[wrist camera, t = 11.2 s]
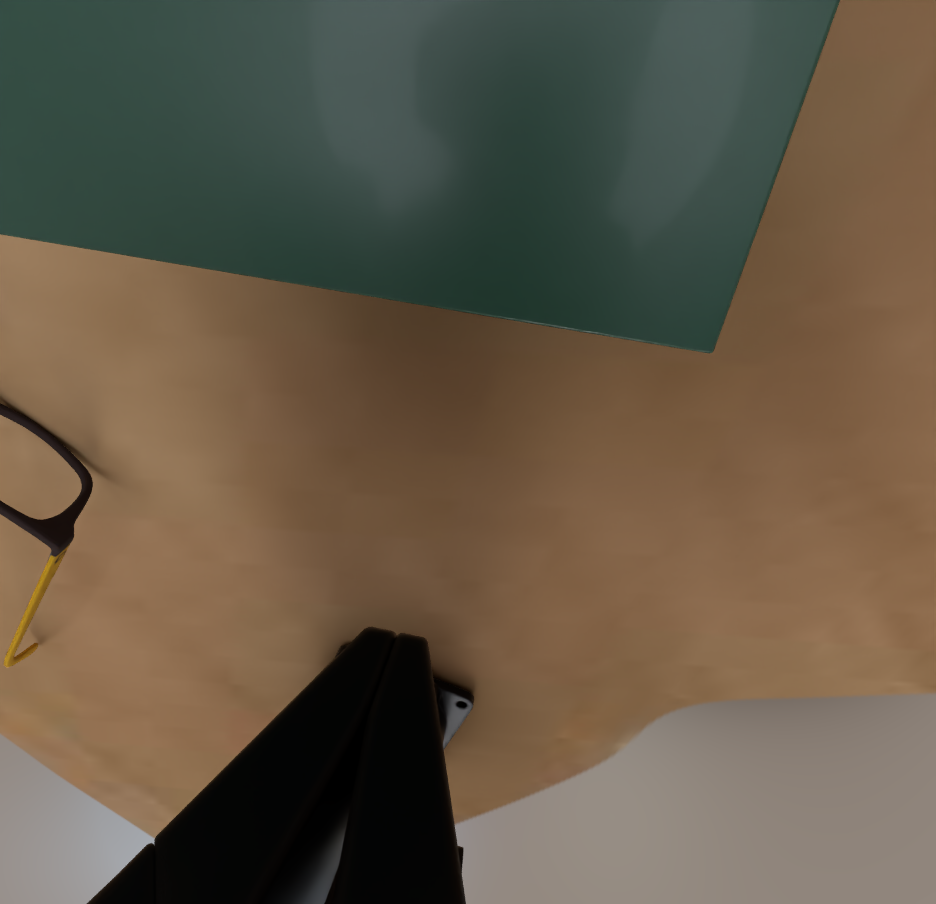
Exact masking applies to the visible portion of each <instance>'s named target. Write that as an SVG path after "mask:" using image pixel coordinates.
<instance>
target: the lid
mask: <svg viewBox="0 0 936 904" xmlns="http://www.w3.org/2000/svg"><path fill="white" fill-rule="evenodd" d="M839 2H840V0H0V234H2V235H8V236H14V237H20V238H26V239H31V240H37V241H43V242H49V243H55V244H61V245H67V246H73V247H79V248H85V249H91V250H97V251H103V252H109V253H115V254H121V255H127V256H133V257H139V258H145V259H151V260H156V261H162V262H168V263H174V264H180V265H186V266H192V267H198V268H204V269H210V270H216V271H222V272H228V273H234V274H240V275H246V276H252V277H258V278H264V279H270V280H276V281H281V282H287V283H293V284H299V285H305V286H311V287H317V288H323V289H329V290H335V291H341V292H347V293H353V294H359V295H365V296H371V297H377V298H383V299H389V300H395V301H401V302H406V303H412V304H418V305H424V306H430V307H436V308H442V309H448V310H454V311H460V312H466V313H472V314H478V315H484V316H490V317H496V318H502V319H508V320H514V321H520V322H526V323H532V324H537V325H543V326H549V327H555V328H561V329H567V330H573V331H579V332H585V333H591V334H597V335H603V336H609V337H615V338H621V339H627V340H633V341H639V342H645V343H651V344H657V345H662V346H668V347H674V348H680V349H686V350H692V351H698V352H704V353H712V352H713V351H714V349H715V346H716V343H717V340H718V337H719V335H720V332H721V329H722V326H723V324H724V321H725V318H726V315H727V312H728V310H729V307H730V304H731V301H732V299H733V296H734V293H735V290H736V288H737V285H738V282H739V279H740V276H741V274H742V271H743V268H744V265H745V263H746V260H747V257H748V254H749V251H750V249H751V246H752V243H753V240H754V238H755V235H756V232H757V229H758V226H759V224H760V221H761V218H762V215H763V213H764V210H765V207H766V204H767V202H768V199H769V196H770V193H771V190H772V188H773V185H774V182H775V179H776V177H777V174H778V171H779V168H780V165H781V163H782V160H783V157H784V154H785V152H786V149H787V146H788V143H789V140H790V138H791V135H792V132H793V129H794V127H795V124H796V121H797V118H798V116H799V113H800V110H801V107H802V104H803V102H804V99H805V96H806V93H807V91H808V88H809V85H810V82H811V79H812V77H813V74H814V71H815V68H816V66H817V63H818V60H819V57H820V54H821V52H822V49H823V46H824V43H825V41H826V38H827V35H828V32H829V30H830V27H831V24H832V21H833V18H834V16H835V13H836V10H837V7H838V5H839Z"/></svg>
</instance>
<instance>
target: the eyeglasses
mask: <svg viewBox="0 0 936 904" xmlns="http://www.w3.org/2000/svg"><path fill="white" fill-rule="evenodd" d="M0 415H2V416H4V417H6V418H8V419H10V420H12V421H14V422H16V423H18V424H20V425H22V426H23V427H25V428H26V429H28V430H30V431H31V432H33V433H34V434H36V435H37V436H38V437H40V438H41V439H42V440H44V441H45V442H46V443H47V444H49V445H50V446H51V447H52V448H53V449H54V450H56V451H57V452H58V453H59V454H60V455H61V456H62V457H63V458H64V459H65V460H66V461H67V462H68V464H69V465H70V466H71V467H72V468H73V469H74V470H75V472H76V473H77V474H78V476H79V477H80V480H81V484H82V489H81V493H80V495H79V496H78V498H77V499H76V500H75V501H74V502H73V503H72V505H70V506H69V507H68V508H67V509H66V510H65V511H63V512H62V513H61V514H59V515H57V516H55V517H52V518H48V519H44V520H37V519H34V518H30V517H28V516H26V515H24V514H22V513H20V512H18V511H17V510H15V509H13V508H12V507H10V506H8V505H7V504H5V503H3V502H2V501H0V514H1V515H3V516H4V517H6V518H7V519H9V520H10V521H12V522H13V523H15V524H16V525H18V526H20V527H21V528H23V529H24V530H26V531H27V532H29V533H30V534H32V535H33V536H35V537H36V538H38V539H39V540H41V541H42V542H43V543H45V544H46V545H48V546H49V547H50V548H51V550H52V551H51V554H50V556H49V559H48V562H47V564H46V567H45V569H44V571H43V573H42V575H41V577H40V579H39V582H38V584H37V586H36V588H35V590H34V593H33V595H32V597H31V600H30V602H29V604H28V606H27V609H26V611H25V613H24V616H23V618H22V620H21V623H20V625H19V627H18V629H17V632H16V634H15V636H14V638H13V641H12V643H11V645H10V647H9V650H8V652H7V654H6V657H5V660H4V666H6V667H10V666H13V665H14V664H16V663H18V662H20V661H21V660H23V659H25V658H26V657H28V656H29V655H31V654H32V653H33V652H34V651H35V650H36V649H37V647H38V644H37V643H34V644H33V645H31V646H30V647H28V648H27V649H26V650H24V651H23V652H21V653H20V654H19V655H17V656H16V657H14V654H15V652H16V650H17V648H18V646H19V644H20V642H21V640H22V638H23V636H24V634H25V632H26V630H27V628H28V626H29V624H30V622H31V620H32V618H33V616H34V614H35V612H36V610H37V607H38V605H39V603H40V601H41V599H42V597H43V595H44V593H45V591H46V589H47V587H48V585H49V583H50V581H51V579H52V578H53V576H54V574H55V572H56V570H57V568H58V567H59V565H60V563H61V561H62V559H63V557H64V555H65V553H66V551H67V549H68V547H69V545H70V543H71V542H72V540H73V538H74V523H75V521H76V519H77V518H78V516H79V514H80V513H81V511H82V510H83V508H84V506H85V505H86V503H87V501H88V499H89V497H90V494H91V492H92V487H93V482H92V478H91V475H90V473H89V472H88V470H87V469H86V468H85V467H84V466H83V464H82V463H81V462H80V461H79V460H78V459H77V458H76V457H75V456H74V455H73V454H72V453H71V452H70V451H69V450H68V449H67V448H66V447H65V446H64V445H63V444H61V443H60V442H59V441H58V440H57V439H56V438H54V437H53V436H52V435H51V434H49V433H48V432H47V431H45V430H44V429H43V428H41V427H40V426H38V425H37V424H36V423H34V422H33V421H31V420H29V419H28V418H26V417H25V416H23V415H21V414H20V413H18V412H16V411H14V410H12V409H11V408H9V407H7V406H5V405H3V404H1V403H0Z"/></svg>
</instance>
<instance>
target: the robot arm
mask: <svg viewBox="0 0 936 904" xmlns="http://www.w3.org/2000/svg"><path fill="white" fill-rule="evenodd" d="M473 703H474V696H473V695H472V694H471V693H470V692H468V691H466V690H463V689H461V688H458V687H455V686H453V685H450V684H448V683H445V682H443V681H440V680H437V679H435V678H433V674H432V667H431V660H430V653H429V646H428V641H427V639H426V638H424V637H421V636H416V635H411V634H406V633H400V634H398V635H397V636H396V633H395V632H393V631H391V630H386V629H380V628H375V627H368V628H366V629H364V630H363V631H362V632H361V633H360V634H359V635H358V636H357V637H356V638H355V639H354V640H353V641H352V642H351V643H350V644H349V645H344V646H341V647H340V648H339V650H338V652H337V655H336V657H335V659H334V660H333V661H332V662H331V663H330V664H329V665H328V666H327V667H326V668H325V669H324V670H323V671H322V672H321V673H320V674H319V675H318V676H317V677H316V678H315V679H314V680H313V681H312V682H311V683H310V684H309V685H308V686H307V687H306V688H305V689H304V690H303V691H302V692H301V693H300V694H299V695H298V696H297V697H296V698H294V699H293V700H292V701H291V702H290V703H289V704H288V705H287V706H286V707H285V708H284V709H283V710H282V711H281V712H280V713H279V714H278V715H277V716H276V717H275V718H274V719H273V720H272V721H271V722H270V723H269V724H268V725H267V726H266V727H265V728H264V729H263V730H262V731H261V732H260V733H259V734H258V735H257V736H256V737H255V738H254V739H253V740H252V741H251V742H250V743H249V744H248V745H247V746H246V747H245V748H244V749H243V750H242V751H241V752H240V753H239V754H238V755H237V756H236V757H235V758H234V759H233V760H232V761H231V762H230V763H229V764H228V765H227V766H226V767H225V768H224V769H223V770H222V771H221V772H220V773H219V774H218V775H217V776H216V777H215V778H214V779H213V780H212V781H211V782H210V783H209V784H208V785H207V786H206V787H205V788H204V789H203V790H202V791H201V792H200V793H199V794H198V795H197V796H196V797H195V798H194V799H193V800H192V801H191V802H190V803H189V804H188V805H187V806H186V807H185V808H184V809H183V810H182V811H181V812H180V813H179V814H178V815H177V816H176V817H175V818H174V819H173V820H172V821H171V822H170V823H169V824H168V825H167V826H166V827H165V828H164V829H163V830H162V831H161V832H160V833H159V834H158V835H157V836H156V837H155V842H154V843H155V844H152V843H150V844H148V845H146V846H145V847H144V849H142V851H140V852H139V853H138V854H137V855H136V856H135V858H133V860H131V861H130V862H129V863H128V864H127V866H126V867H124V868H123V869H122V870H121V871H120V873H119V874H117V875H116V876H115V877H114V878H113V879H112V880H111V881H110V882H109V883H108V884H107V885H106V886H105V887H104V888H103V889H102V890H101V891H100V892H99V893H98V894H97V895H95V896H94V897H93V898H92V899H91V900H90V901H89V902H88V903H87V904H466V902H465V894H464V887H463V881H462V862H463V847H460V846H457V839H456V832H455V825H454V818H453V812H452V805H451V798H450V791H449V784H448V777H447V770H446V763H445V756H444V748H445V747H446V746H447V744H448V743H449V741H450V740H451V738H452V737H453V736H454V734H455V733H456V731H457V730H458V728H459V727H460V725H461V724H462V723H463V721H464V720H465V718H466V717H467V715H468V714H469V713H470V711H471V710H472V708H473Z"/></svg>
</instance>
